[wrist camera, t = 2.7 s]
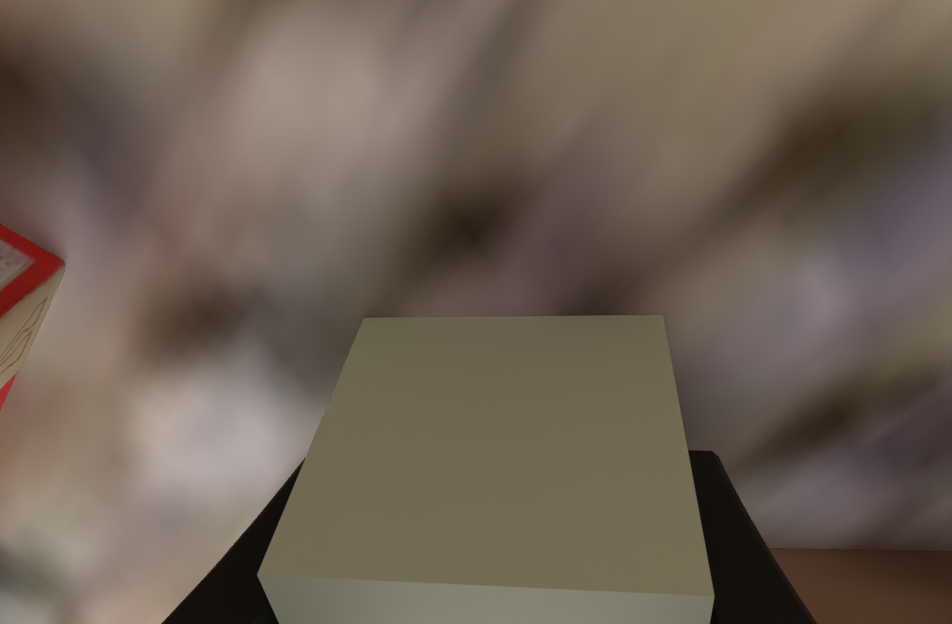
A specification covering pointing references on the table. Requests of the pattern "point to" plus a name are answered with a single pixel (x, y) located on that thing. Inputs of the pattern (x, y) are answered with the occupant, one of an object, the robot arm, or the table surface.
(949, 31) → the table surface
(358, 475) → the sage cube
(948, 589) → the walnut block
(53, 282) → the stack of blocks
